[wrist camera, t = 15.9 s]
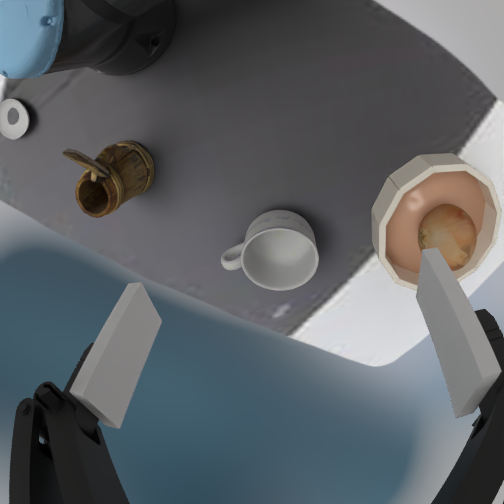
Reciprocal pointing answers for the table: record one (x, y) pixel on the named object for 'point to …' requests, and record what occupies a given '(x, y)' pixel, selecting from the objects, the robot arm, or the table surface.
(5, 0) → the robot arm
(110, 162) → the wooden mug
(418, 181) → the bowl
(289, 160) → the table surface
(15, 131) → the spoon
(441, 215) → the onion
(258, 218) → the teacup
